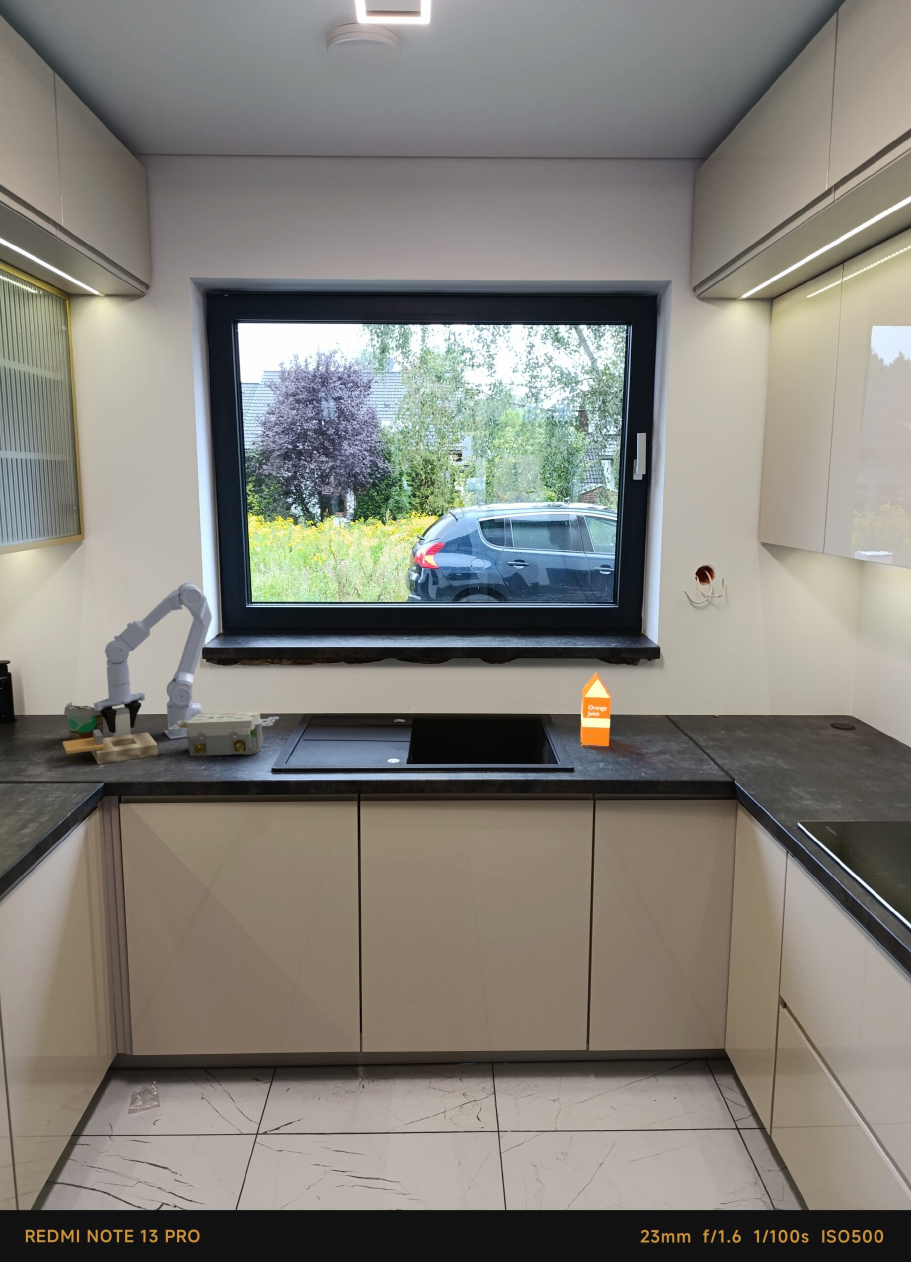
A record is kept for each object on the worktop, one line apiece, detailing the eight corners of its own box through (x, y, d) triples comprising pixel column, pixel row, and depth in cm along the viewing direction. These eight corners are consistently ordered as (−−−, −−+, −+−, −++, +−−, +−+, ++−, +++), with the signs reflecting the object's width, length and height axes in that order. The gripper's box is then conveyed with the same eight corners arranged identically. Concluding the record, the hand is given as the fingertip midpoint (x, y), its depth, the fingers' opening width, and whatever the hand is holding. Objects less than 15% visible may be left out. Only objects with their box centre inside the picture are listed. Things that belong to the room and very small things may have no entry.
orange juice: (606, 738, 246) (609, 672, 242) (609, 748, 237) (612, 679, 234) (579, 737, 246) (582, 671, 243) (581, 747, 238) (583, 678, 234)
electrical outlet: (272, 757, 224) (269, 721, 222) (168, 761, 226) (164, 725, 224) (283, 743, 236) (280, 709, 234) (184, 747, 237) (180, 713, 236)
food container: (55, 741, 237) (53, 707, 235) (72, 735, 243) (69, 702, 241) (91, 746, 233) (89, 711, 232) (107, 740, 239) (104, 706, 237)
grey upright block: (128, 733, 241) (126, 706, 240) (130, 737, 238) (129, 710, 237) (113, 735, 239) (111, 708, 238) (115, 739, 236) (114, 712, 235)
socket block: (148, 742, 237) (147, 732, 237) (157, 755, 226) (157, 744, 226) (90, 750, 230) (90, 739, 229) (98, 764, 219) (97, 753, 218)
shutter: (99, 739, 228) (98, 728, 228) (104, 748, 221) (103, 736, 220) (62, 744, 224) (62, 732, 223) (67, 753, 216) (66, 741, 216)
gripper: (102, 690, 228) (106, 738, 230) (149, 680, 239) (152, 726, 242) (88, 686, 232) (91, 733, 234) (135, 676, 244) (138, 722, 246)
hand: (121, 729), depth 238 cm, fingers closed on grey upright block, 5 cm apart
